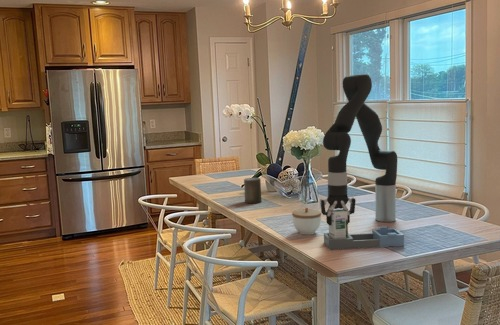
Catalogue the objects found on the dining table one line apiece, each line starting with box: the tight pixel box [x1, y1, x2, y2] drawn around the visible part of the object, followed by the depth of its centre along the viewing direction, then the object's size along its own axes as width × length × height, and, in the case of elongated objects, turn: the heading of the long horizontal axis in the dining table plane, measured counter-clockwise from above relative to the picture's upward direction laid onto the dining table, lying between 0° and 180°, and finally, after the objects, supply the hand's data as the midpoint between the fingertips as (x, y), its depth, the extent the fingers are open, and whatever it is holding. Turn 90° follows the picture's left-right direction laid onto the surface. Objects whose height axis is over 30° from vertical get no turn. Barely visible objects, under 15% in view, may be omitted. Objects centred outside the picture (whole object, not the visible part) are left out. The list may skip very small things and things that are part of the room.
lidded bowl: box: [291, 207, 322, 236], centre depth 209 cm, size 13×13×11 cm
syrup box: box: [328, 208, 349, 239], centre depth 188 cm, size 6×6×14 cm
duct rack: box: [323, 225, 405, 251], centre depth 189 cm, size 12×30×5 cm, turn 93°
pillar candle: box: [243, 177, 262, 204], centre depth 275 cm, size 10×10×15 cm
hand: (338, 224), depth 188 cm, fingers closed on syrup box, 6 cm apart
